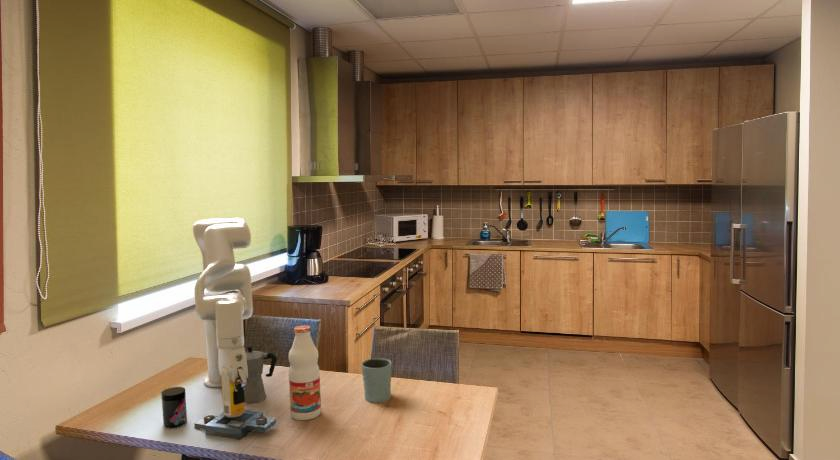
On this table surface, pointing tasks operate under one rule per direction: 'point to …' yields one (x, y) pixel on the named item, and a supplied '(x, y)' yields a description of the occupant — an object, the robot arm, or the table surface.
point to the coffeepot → (256, 375)
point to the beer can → (230, 396)
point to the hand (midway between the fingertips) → (233, 399)
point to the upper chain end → (252, 424)
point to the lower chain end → (208, 418)
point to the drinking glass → (377, 379)
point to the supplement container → (174, 407)
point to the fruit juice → (304, 376)
